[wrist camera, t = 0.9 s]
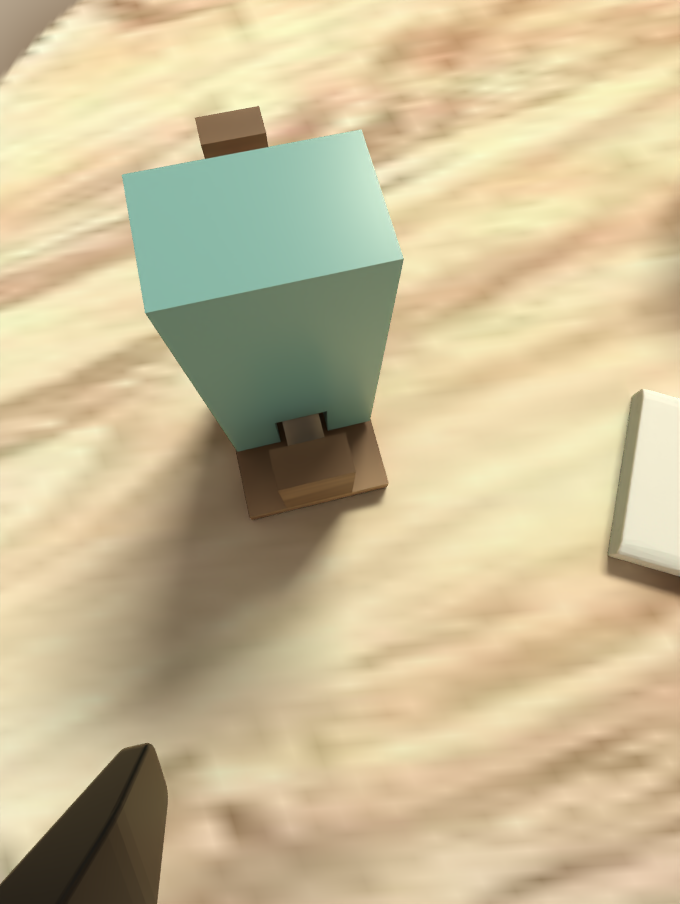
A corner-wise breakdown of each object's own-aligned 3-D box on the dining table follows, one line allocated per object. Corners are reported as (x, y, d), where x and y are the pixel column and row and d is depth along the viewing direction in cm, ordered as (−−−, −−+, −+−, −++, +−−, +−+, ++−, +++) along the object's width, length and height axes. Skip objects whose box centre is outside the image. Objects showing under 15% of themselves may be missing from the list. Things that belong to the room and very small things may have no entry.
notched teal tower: (369, 420, 24) (403, 258, 12) (237, 451, 23) (145, 313, 12) (348, 344, 25) (361, 129, 13) (221, 372, 24) (121, 174, 13)
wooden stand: (386, 486, 24) (399, 461, 20) (252, 520, 24) (232, 501, 19) (300, 179, 29) (294, 99, 24) (186, 201, 28) (158, 124, 24)
